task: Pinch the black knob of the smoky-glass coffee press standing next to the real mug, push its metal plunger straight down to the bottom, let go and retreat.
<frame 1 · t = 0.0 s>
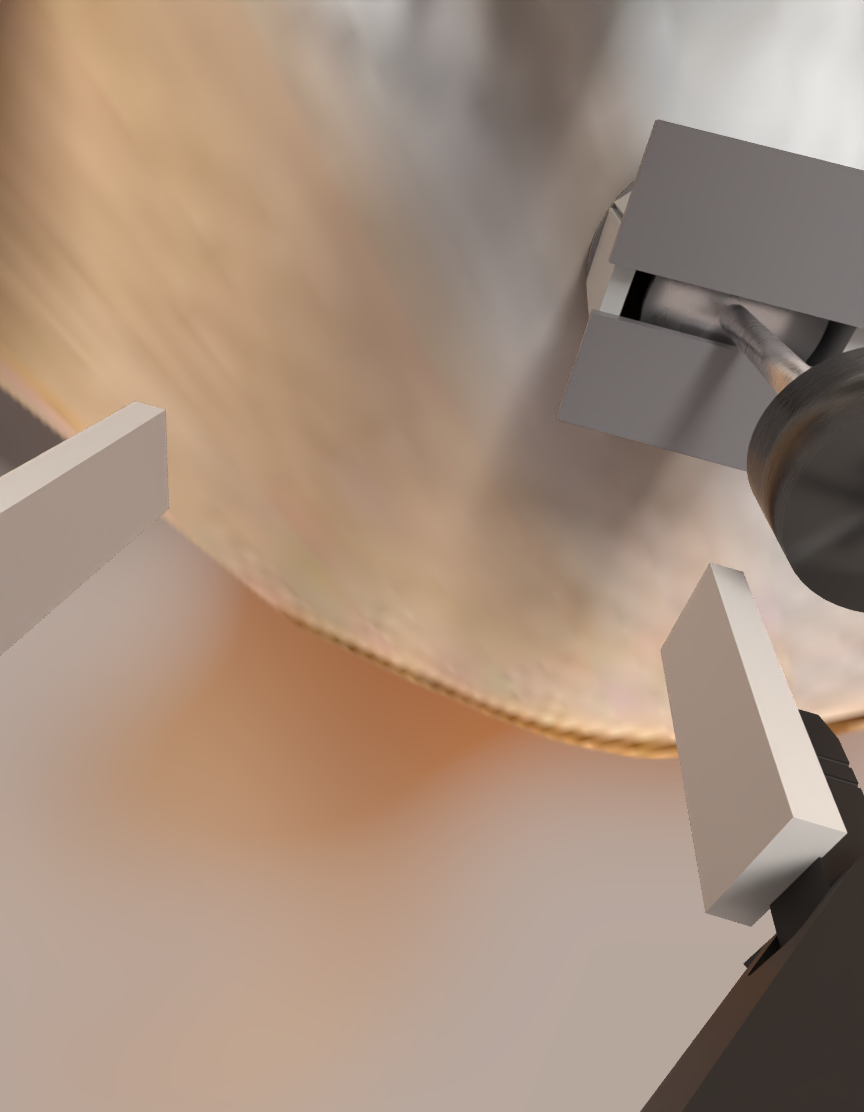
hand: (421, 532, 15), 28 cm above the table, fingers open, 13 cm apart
slotted gray plate: (683, 265, 36), on the table
plunger: (788, 375, 18), point 21 cm above the table, slide at 0.0 cm
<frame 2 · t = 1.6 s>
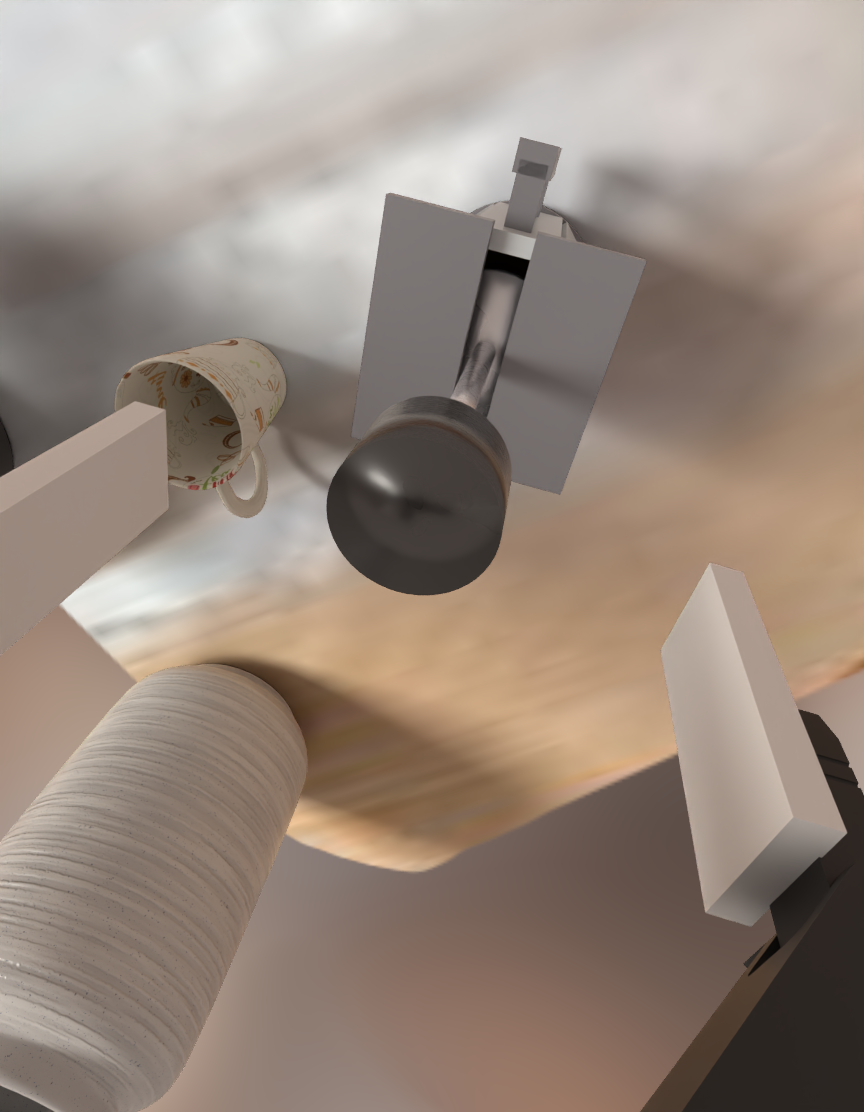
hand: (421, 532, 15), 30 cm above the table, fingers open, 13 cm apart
mug: (260, 405, 48), on the table
vase: (233, 711, 67), on the table
slotted gray plate: (508, 296, 40), on the table
plunger: (461, 407, 22), point 21 cm above the table, slide at 0.0 cm
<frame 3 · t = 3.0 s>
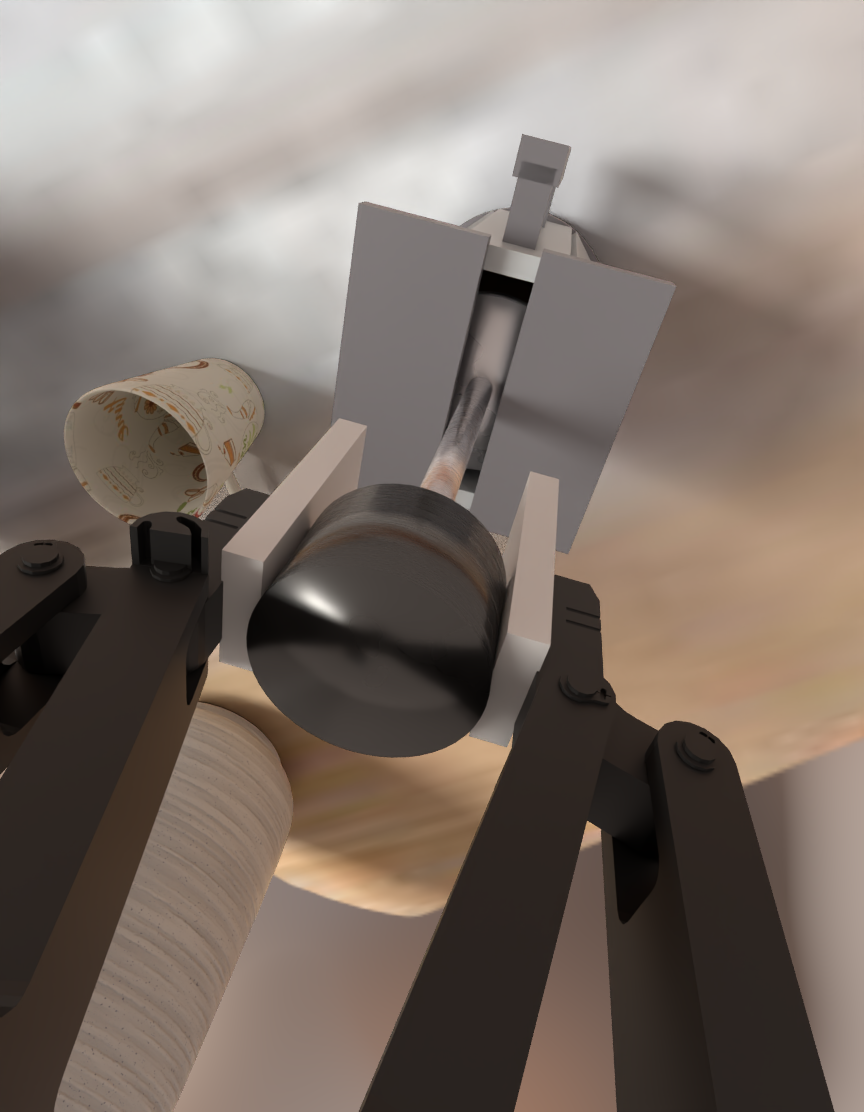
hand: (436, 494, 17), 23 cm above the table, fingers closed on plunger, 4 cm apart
mug: (236, 431, 43), on the table
vase: (216, 750, 63), on the table
slotted gray plate: (510, 314, 36), on the table
plunger: (446, 471, 18), point 21 cm above the table, slide at 0.0 cm, touching gripper
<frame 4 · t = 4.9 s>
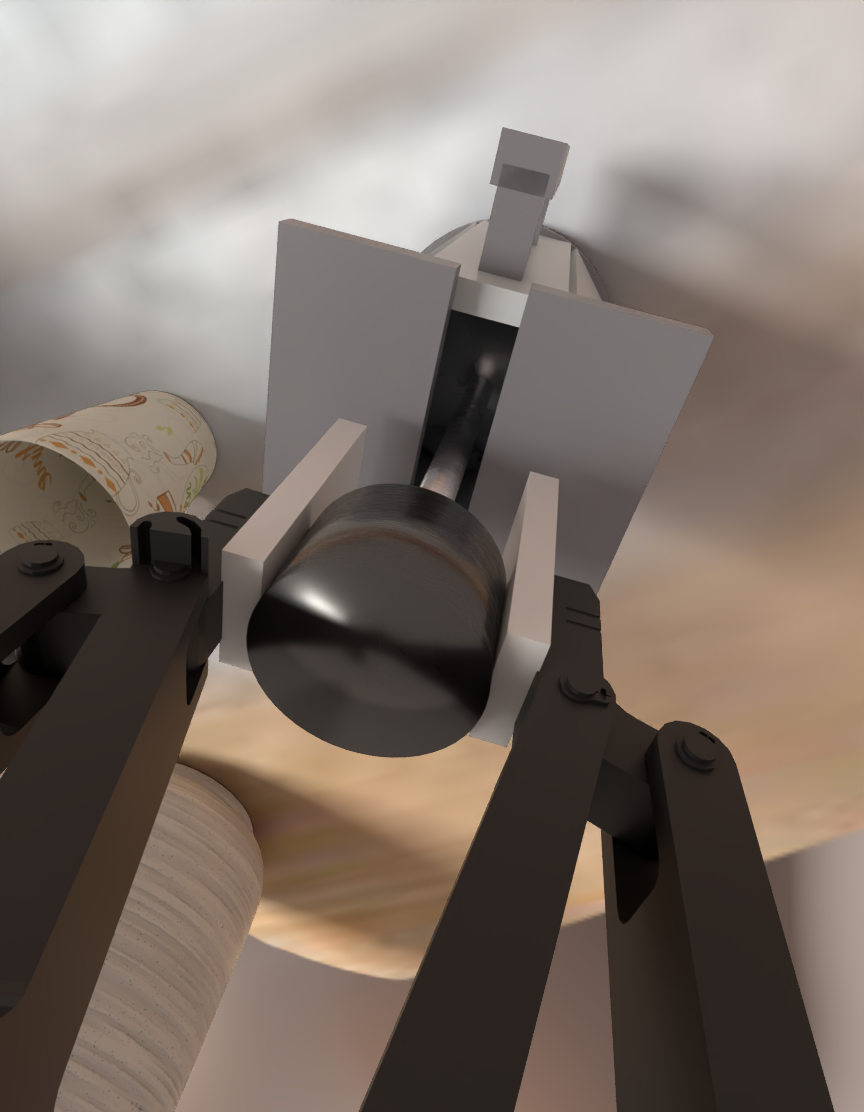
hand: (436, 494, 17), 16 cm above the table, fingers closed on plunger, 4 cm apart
mug: (186, 472, 38), on the table
vase: (181, 808, 57), on the table
slotted gray plate: (497, 344, 30), on the table
plunger: (446, 471, 18), point 15 cm above the table, slide at 6.7 cm, touching gripper
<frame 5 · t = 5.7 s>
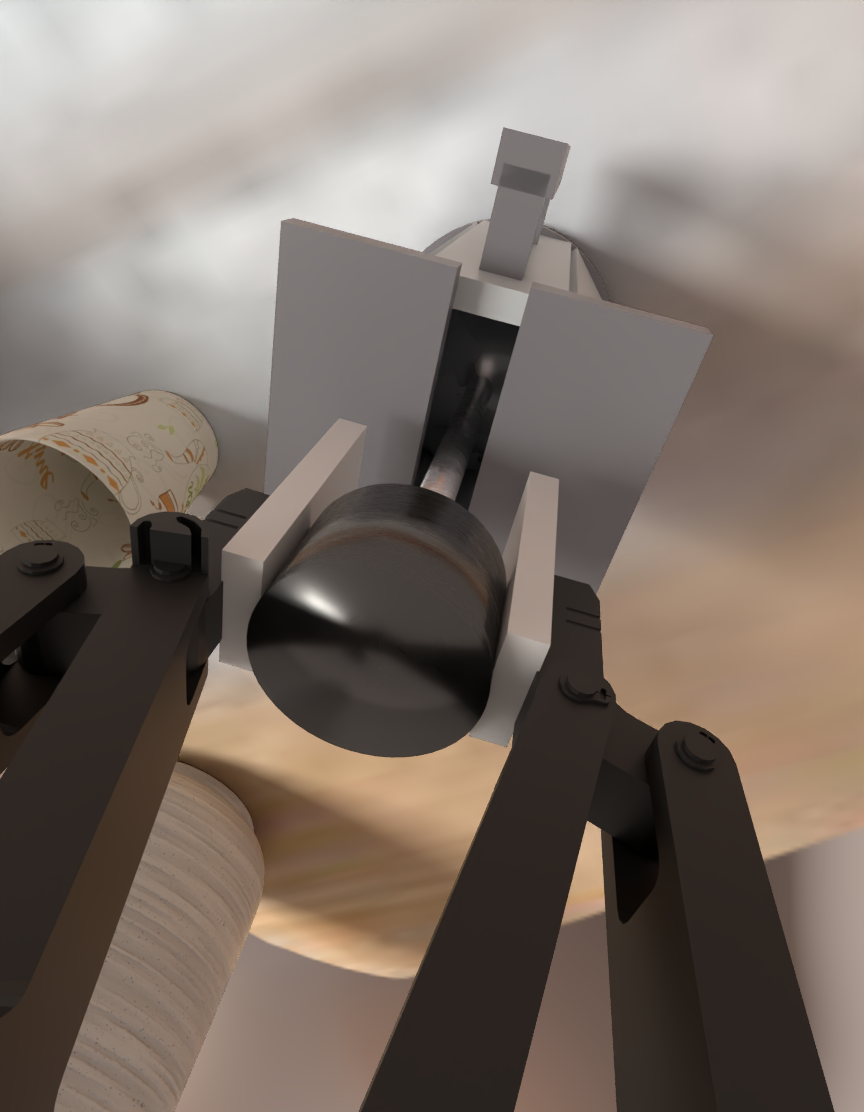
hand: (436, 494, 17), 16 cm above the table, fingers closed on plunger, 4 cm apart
mug: (187, 471, 38), on the table
vase: (182, 806, 57), on the table
slotted gray plate: (498, 343, 30), on the table
plunger: (446, 471, 18), point 15 cm above the table, slide at 6.6 cm, touching gripper
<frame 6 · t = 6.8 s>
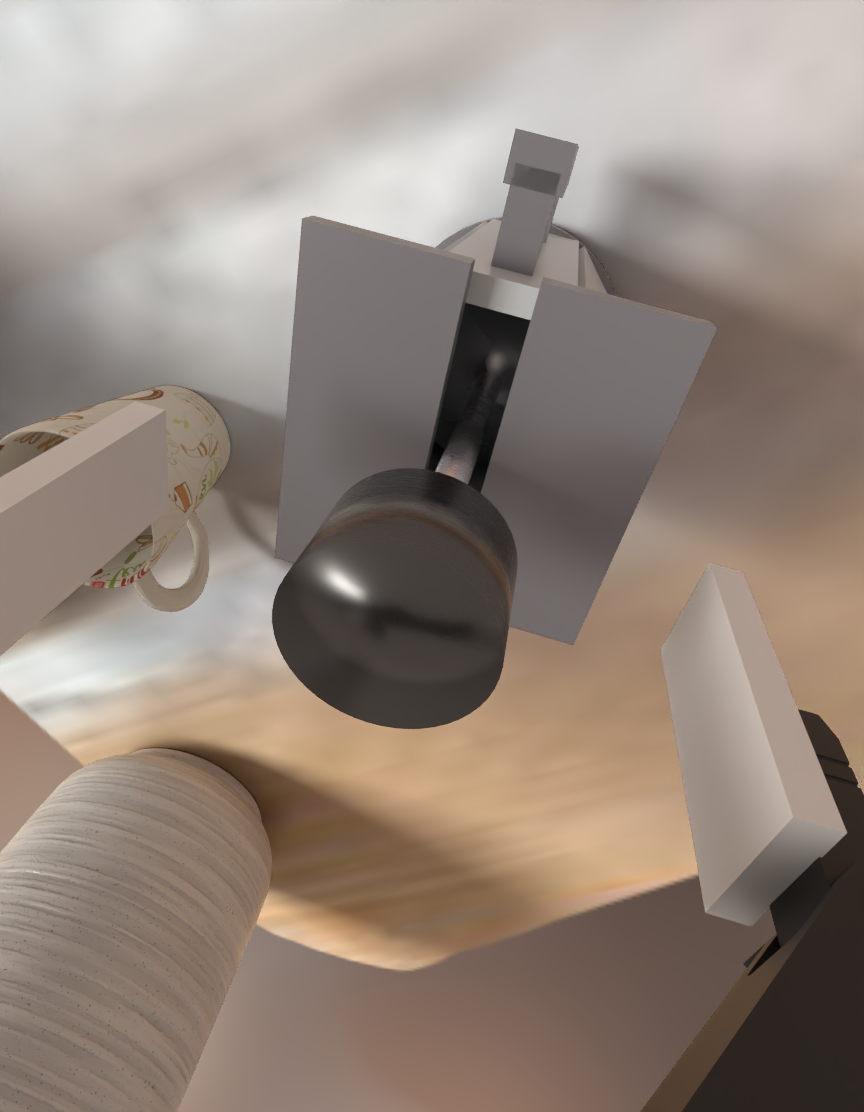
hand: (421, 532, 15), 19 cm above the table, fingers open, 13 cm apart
mug: (200, 465, 38), on the table
vase: (190, 798, 58), on the table
slotted gray plate: (506, 339, 31), on the table
plunger: (458, 461, 19), point 15 cm above the table, slide at 6.5 cm
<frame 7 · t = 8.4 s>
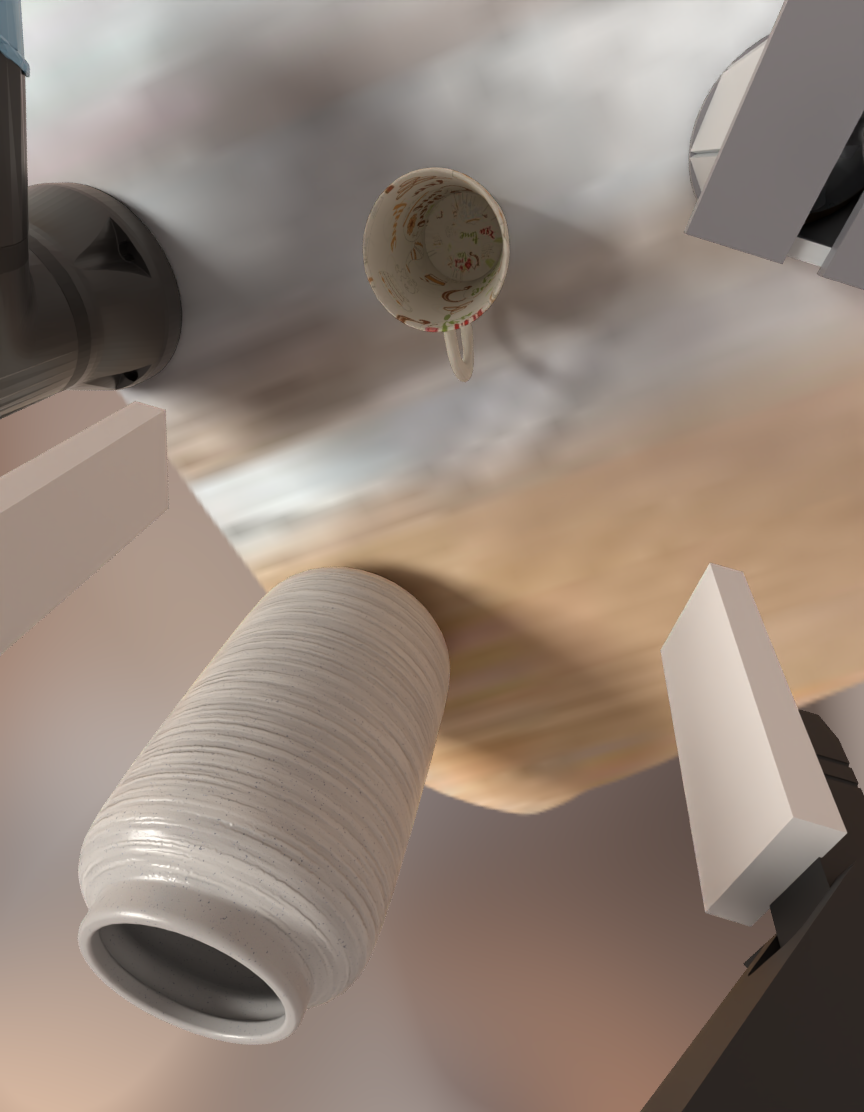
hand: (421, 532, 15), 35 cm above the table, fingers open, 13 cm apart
mug: (470, 270, 45), on the table
vase: (364, 627, 64), on the table
slotted gray plate: (785, 139, 37), on the table
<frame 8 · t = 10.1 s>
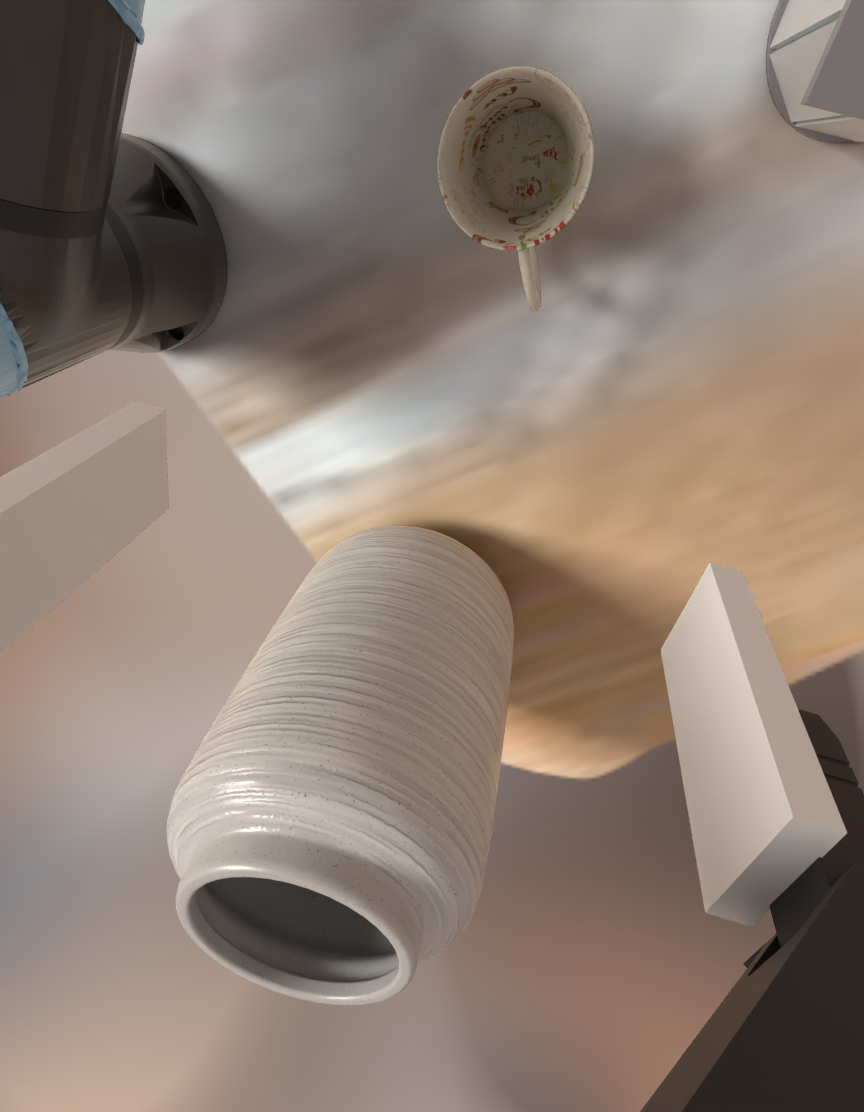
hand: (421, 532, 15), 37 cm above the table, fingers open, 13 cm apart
mug: (531, 197, 43), on the table
vase: (418, 590, 63), on the table
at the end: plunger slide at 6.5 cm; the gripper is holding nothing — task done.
